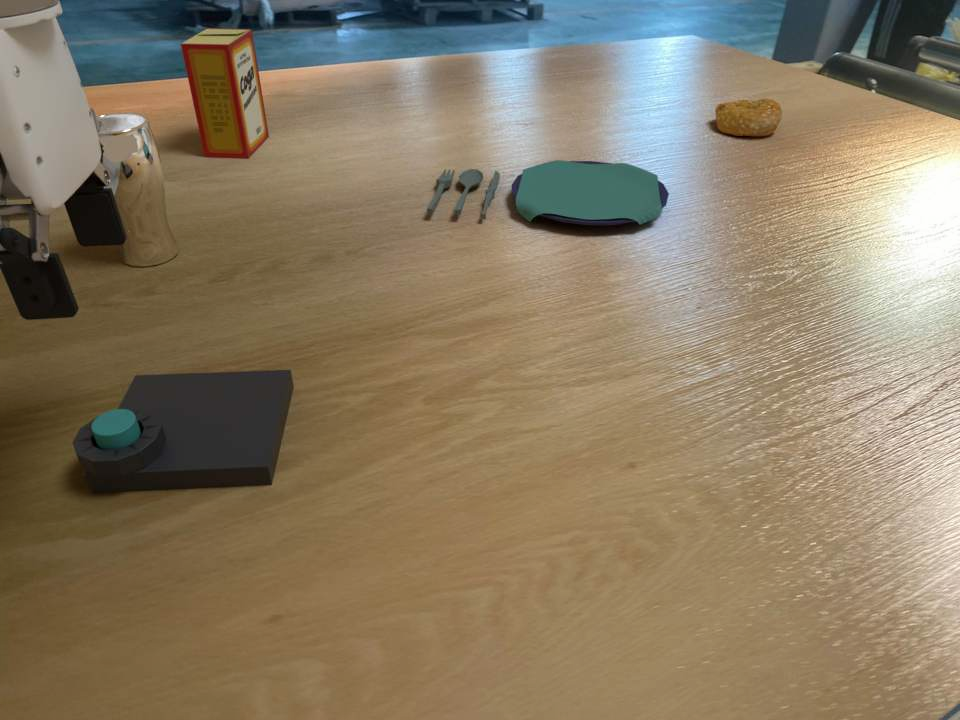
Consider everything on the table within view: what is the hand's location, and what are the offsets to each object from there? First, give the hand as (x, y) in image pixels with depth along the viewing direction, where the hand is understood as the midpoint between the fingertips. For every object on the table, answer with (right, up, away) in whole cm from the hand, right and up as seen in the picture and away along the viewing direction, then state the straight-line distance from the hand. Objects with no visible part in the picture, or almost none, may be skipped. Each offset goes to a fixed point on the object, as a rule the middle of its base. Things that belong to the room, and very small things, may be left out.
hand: (79, 277), depth 50 cm
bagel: (+68, +31, +72) cm, 104 cm away
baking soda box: (-10, +27, +65) cm, 71 cm away
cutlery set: (+35, +15, +49) cm, 62 cm away
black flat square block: (+4, -11, +11) cm, 16 cm away
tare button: (0, -11, +6) cm, 13 cm away
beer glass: (-11, +6, +36) cm, 39 cm away
